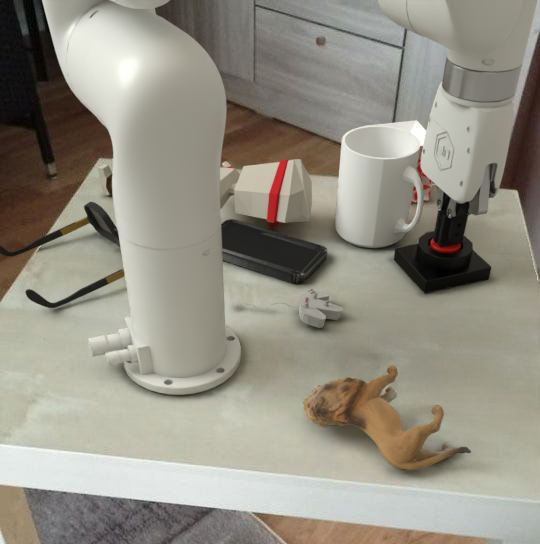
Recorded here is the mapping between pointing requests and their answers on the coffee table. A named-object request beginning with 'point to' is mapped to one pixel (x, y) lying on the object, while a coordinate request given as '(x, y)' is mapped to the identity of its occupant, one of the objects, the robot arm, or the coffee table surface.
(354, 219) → the mug
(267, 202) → the toy
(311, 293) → the game controller
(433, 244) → the button
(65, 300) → the sunglasses
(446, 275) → the button box
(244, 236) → the phone
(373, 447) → the coffee table surface
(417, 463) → the lion figurine
